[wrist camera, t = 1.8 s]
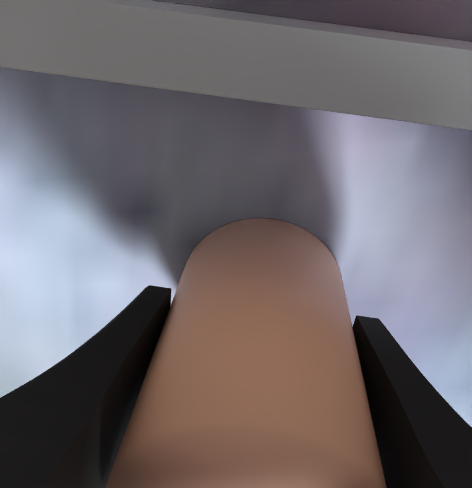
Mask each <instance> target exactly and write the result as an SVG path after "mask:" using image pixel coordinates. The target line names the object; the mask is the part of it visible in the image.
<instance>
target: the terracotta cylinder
mask: <svg viewBox="0 0 472 488" xmlns="http://www.w3.org/2000/svg"><path fill="white" fill-rule="evenodd" d="M106 488H387V487H386V482H385V478H384V473H383V468H382V464H381V459H380V454H379V450H378V445H377V440H376V436H375V431H374V426H373V422H372V417H371V412H370V407H369V403H368V398H367V393H366V389H365V384H364V379H363V375H362V370H361V365H360V361H359V356H358V351H357V347H356V342H355V337H354V333H353V328H352V323H351V318H350V314H349V309H348V304H347V300H346V295H345V290H344V286H343V281H342V276H341V273H340V269H339V266H338V264H337V262H336V260H335V258H334V256H333V255H332V253H331V252H330V250H329V249H328V248H327V247H326V246H325V244H324V243H323V242H322V241H320V240H319V239H318V238H317V237H316V236H314V235H313V234H311V233H310V232H308V231H307V230H305V229H303V228H301V227H299V226H296V225H294V224H291V223H288V222H285V221H280V220H275V219H265V218H255V219H245V220H239V221H236V222H232V223H229V224H226V225H224V226H222V227H219V228H218V229H216V230H214V231H213V232H211V233H210V234H208V235H207V236H206V237H204V238H203V239H202V240H201V241H200V242H199V243H198V244H197V245H196V247H195V248H194V250H193V251H192V252H191V254H190V256H189V258H188V260H187V262H186V265H185V268H184V271H183V273H182V276H181V279H180V282H179V284H178V287H177V290H176V293H175V296H174V298H173V301H172V304H171V307H170V309H169V312H168V315H167V318H166V320H165V323H164V326H163V329H162V331H161V334H160V337H159V340H158V343H157V345H156V348H155V351H154V354H153V356H152V359H151V362H150V365H149V367H148V370H147V373H146V376H145V379H144V381H143V384H142V387H141V390H140V392H139V395H138V398H137V401H136V403H135V406H134V409H133V412H132V414H131V417H130V420H129V423H128V426H127V428H126V431H125V434H124V437H123V439H122V442H121V445H120V448H119V450H118V453H117V456H116V459H115V462H114V464H113V467H112V470H111V473H110V475H109V478H108V482H107V485H106Z"/></svg>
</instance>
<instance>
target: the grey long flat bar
mask: <svg viewBox="0 0 472 488" xmlns="http://www.w3.org/2000/svg"><path fill="white" fill-rule="evenodd" d="M0 67H3V68H11V69H18V70H26V71H33V72H41V73H48V74H56V75H63V76H70V77H78V78H85V79H93V80H100V81H108V82H115V83H123V84H130V85H138V86H145V87H152V88H160V89H167V90H175V91H182V92H190V93H197V94H205V95H212V96H220V97H227V98H234V99H242V100H249V101H257V102H264V103H272V104H279V105H287V106H294V107H302V108H309V109H316V110H324V111H331V112H339V113H346V114H354V115H361V116H369V117H376V118H384V119H391V120H398V121H406V122H413V123H421V124H428V125H436V126H443V127H451V128H458V129H466V130H472V42H470V41H462V40H454V39H446V38H439V37H431V36H423V35H415V34H408V33H400V32H392V31H384V30H377V29H369V28H361V27H353V26H346V25H338V24H330V23H322V22H315V21H307V20H299V19H291V18H284V17H276V16H268V15H260V14H253V13H245V12H237V11H229V10H222V9H214V8H206V7H198V6H191V5H183V4H175V3H167V2H160V1H152V0H0Z"/></svg>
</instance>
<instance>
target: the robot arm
mask: <svg viewBox="0 0 472 488" xmlns="http://www.w3.org/2000/svg"><path fill="white" fill-rule="evenodd" d="M170 305H171V288H164V287H157V286H150V285H149V286H148V287H146V288H145V289H144V290H143V291H142V292H141V293H140V294H139V295H138V296H137V297H136V298H135V299H134V300H133V301H132V302H131V303H130V304H129V305H128V306H127V307H126V308H125V309H124V310H123V311H121V312H120V313H119V314H118V315H117V316H116V317H115V318H114V319H113V320H111V321H110V322H109V323H108V324H107V325H106V326H105V327H104V328H102V329H101V330H100V331H99V332H98V333H97V334H95V335H94V336H93V337H92V338H90V339H89V340H88V341H87V342H85V343H84V344H83V345H81V346H80V347H79V348H78V349H76V350H75V351H74V352H72V353H71V354H70V355H68V356H67V357H66V358H64V359H63V360H61V361H60V362H59V363H57V364H56V365H54V366H53V367H51V368H50V369H48V370H47V371H45V372H44V373H42V374H41V375H39V376H37V377H36V378H34V379H32V380H31V381H29V382H27V383H26V384H24V385H22V386H20V387H19V388H17V389H15V390H13V391H12V392H10V393H8V394H6V395H5V396H3V397H1V398H0V488H106V485H107V482H108V478H109V475H110V473H111V470H112V467H113V464H114V462H115V459H116V456H117V453H118V450H119V448H120V445H121V442H122V439H123V437H124V434H125V431H126V428H127V426H128V423H129V420H130V417H131V414H132V412H133V409H134V406H135V403H136V401H137V398H138V395H139V392H140V390H141V387H142V384H143V381H144V379H145V376H146V373H147V370H148V367H149V365H150V362H151V359H152V356H153V354H154V351H155V348H156V345H157V343H158V340H159V337H160V334H161V331H162V329H163V326H164V323H165V320H166V318H167V315H168V312H169V309H170ZM353 333H354V337H355V342H356V347H357V351H358V356H359V361H360V365H361V370H362V375H363V379H364V384H365V389H366V393H367V398H368V403H369V407H370V412H371V417H372V422H373V426H374V431H375V436H376V440H377V445H378V450H379V454H380V459H381V464H382V468H383V473H384V478H385V482H386V487H387V488H472V427H471V426H469V425H468V424H467V423H466V422H465V421H464V420H463V419H462V418H461V417H460V416H459V415H458V414H457V412H456V411H455V410H454V409H453V408H452V407H451V406H450V405H449V404H448V403H447V402H446V401H445V399H444V398H443V397H442V396H441V395H440V394H439V393H438V392H437V391H436V390H435V388H434V387H433V386H432V385H431V384H430V383H429V381H428V380H427V379H426V378H425V377H424V376H423V374H422V373H421V372H420V371H419V369H418V368H417V367H416V366H415V365H414V363H413V362H412V361H411V360H410V358H409V357H408V356H407V354H406V353H405V352H404V351H403V349H402V348H401V347H400V345H399V344H398V343H397V342H396V340H395V339H394V338H393V336H392V335H391V334H390V332H389V331H388V330H387V328H386V327H385V326H384V325H383V323H382V322H381V321H380V320H379V319H377V318H370V317H363V316H356V318H355V321H354V324H353Z"/></svg>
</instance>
